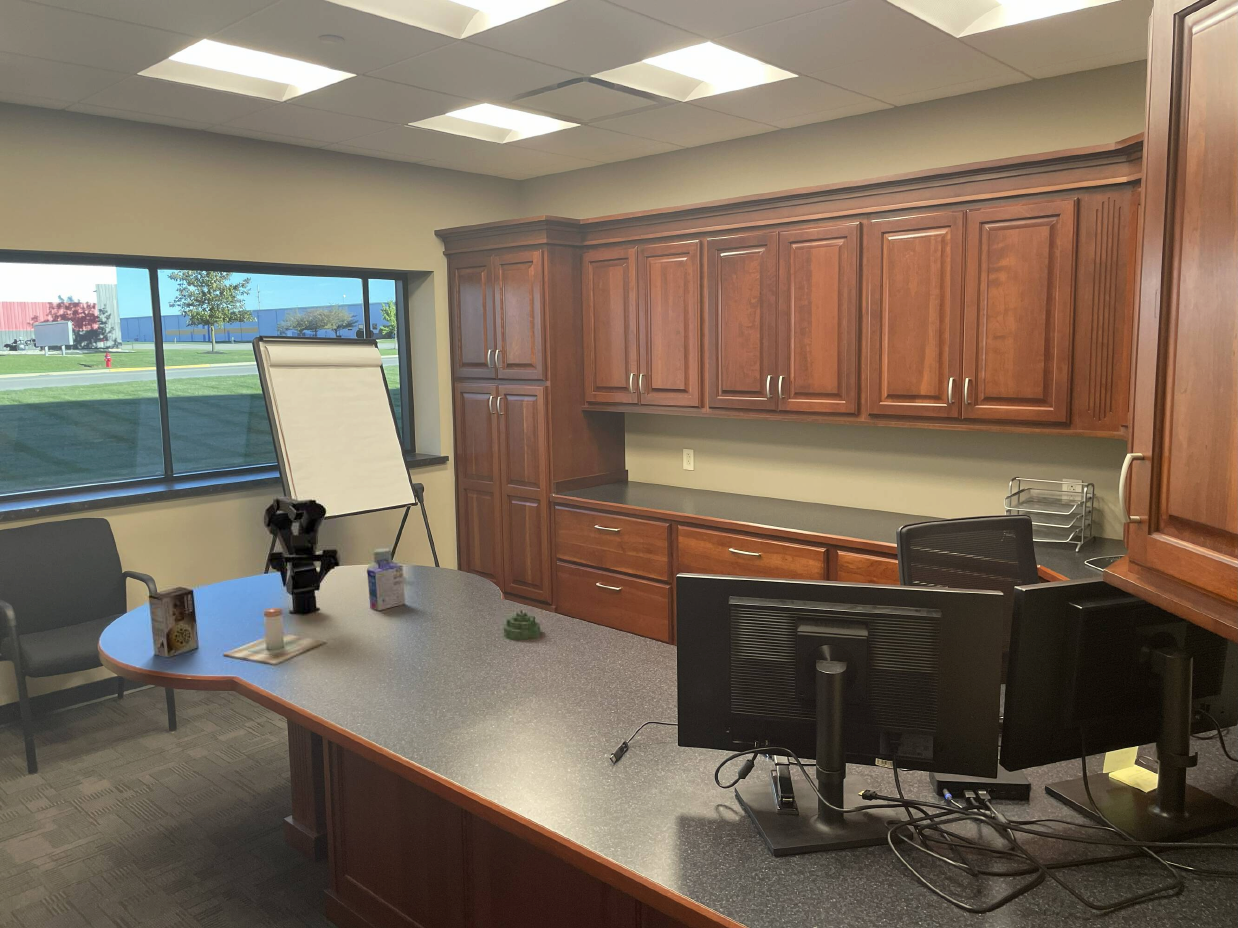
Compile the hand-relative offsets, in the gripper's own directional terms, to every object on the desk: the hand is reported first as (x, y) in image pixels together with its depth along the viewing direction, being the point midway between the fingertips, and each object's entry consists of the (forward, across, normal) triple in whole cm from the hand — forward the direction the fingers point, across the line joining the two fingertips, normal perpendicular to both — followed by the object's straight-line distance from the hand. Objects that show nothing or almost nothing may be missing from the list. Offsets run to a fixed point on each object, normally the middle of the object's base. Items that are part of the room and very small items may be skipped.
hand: (301, 585), depth 250 cm
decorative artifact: (+19, +60, +1) cm, 63 cm away
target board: (+19, -5, 0) cm, 20 cm away
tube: (+19, -5, 0) cm, 19 cm away
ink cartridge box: (-6, +20, +25) cm, 33 cm away
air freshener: (-30, +14, +50) cm, 60 cm away
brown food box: (+17, -31, +3) cm, 35 cm away
